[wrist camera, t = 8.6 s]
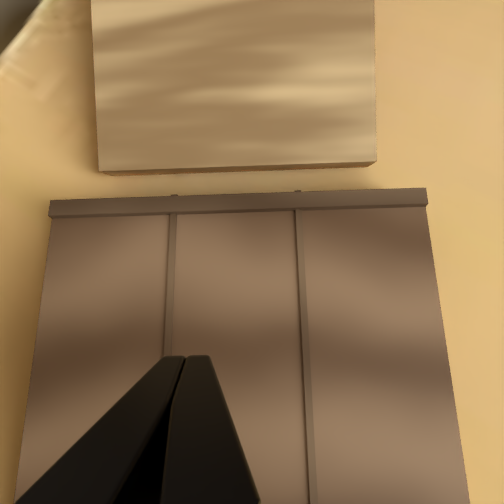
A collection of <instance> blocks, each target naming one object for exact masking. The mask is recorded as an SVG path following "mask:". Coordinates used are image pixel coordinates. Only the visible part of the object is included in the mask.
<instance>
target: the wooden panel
mask: <svg viewBox="0 0 504 504" xmlns="http://www.w3.org/2000/svg"><path fill="white" fill-rule="evenodd" d="M427 204H428V198H427V192H426V188H400V189H370V190H340V191H310V192H301V190H299V191H294V192H281V193H251V194H221V195H191V196H178V195H171V196H161V197H131V198H101V199H71V200H50V206H49V213H48V216H49V217H51V218H52V223H51V231H50V238H49V245H48V253H47V260H46V268H45V275H44V282H43V290H42V297H41V304H40V312H39V319H38V327H37V334H36V341H35V349H34V356H33V364H32V371H31V378H30V386H29V393H28V401H27V408H26V415H25V423H24V430H23V437H22V445H21V452H20V460H19V467H18V474H17V482H16V489H15V497H14V503H15V501H16V500H17V499H18V498H19V497H20V496H21V495H23V494H24V493H25V492H26V491H27V490H28V489H29V488H30V487H31V486H32V485H33V484H34V483H35V482H36V481H37V480H38V479H39V478H40V477H41V476H42V475H43V474H44V473H45V472H46V471H47V470H48V469H49V468H50V467H51V466H52V465H53V464H54V463H55V462H56V461H57V460H58V459H59V458H60V457H61V456H62V455H63V454H64V453H65V452H66V451H67V450H68V449H69V448H70V447H71V446H72V445H73V444H74V443H75V442H76V441H77V440H78V439H79V438H80V437H81V436H82V435H83V434H84V433H86V432H87V431H88V430H89V429H90V428H91V427H92V426H93V425H94V424H95V423H96V422H97V421H98V420H99V419H100V418H101V417H102V416H103V415H104V414H105V413H106V412H107V411H108V410H109V409H110V408H111V407H112V406H113V405H114V404H115V403H116V402H117V401H118V400H119V399H120V398H121V397H122V396H123V395H124V394H125V393H126V392H127V391H128V390H129V389H130V388H131V387H132V386H133V385H134V384H135V383H136V382H137V381H138V380H139V379H140V378H141V377H142V376H143V375H144V374H145V373H146V372H147V371H149V370H150V369H151V368H152V367H153V366H154V365H155V364H156V363H157V362H158V361H159V360H160V359H161V358H162V357H164V356H171V355H184V356H185V357H186V358H187V357H188V356H189V355H209V356H210V357H211V360H212V363H213V366H214V369H215V371H216V374H217V377H218V380H219V383H220V386H221V388H222V391H223V394H224V397H225V400H226V403H227V405H228V408H229V411H230V414H231V417H232V420H233V422H234V425H235V428H236V431H237V434H238V437H239V439H240V442H241V445H242V448H243V451H244V454H245V456H246V459H247V462H248V465H249V468H250V471H251V473H252V476H253V479H254V482H255V485H256V488H257V490H258V493H259V496H260V499H261V504H470V499H469V493H468V486H467V479H466V473H465V466H464V459H463V453H462V446H461V439H460V433H459V426H458V420H457V413H456V406H455V400H454V393H453V386H452V380H451V373H450V366H449V360H448V353H447V346H446V340H445V333H444V326H443V320H442V313H441V307H440V300H439V293H438V287H437V280H436V273H435V267H434V260H433V253H432V247H431V240H430V233H429V227H428V220H427V214H426V206H427Z"/></svg>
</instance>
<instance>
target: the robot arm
mask: <svg viewBox="0 0 504 504" xmlns="http://www.w3.org/2000/svg"><path fill="white" fill-rule="evenodd" d="M14 504H261V499H260V496H259V493H258V490H257V488H256V485H255V482H254V479H253V476H252V473H251V471H250V468H249V465H248V462H247V459H246V456H245V454H244V451H243V448H242V445H241V442H240V439H239V437H238V434H237V431H236V428H235V425H234V422H233V420H232V417H231V414H230V411H229V408H228V405H227V403H226V400H225V397H224V394H223V391H222V388H221V386H220V383H219V380H218V377H217V374H216V371H215V369H214V366H213V363H212V360H211V357H210V356H209V355H189V356H188V357H187V358H186V357H185V356H184V355H171V356H164V357H162V358H161V359H160V360H159V361H158V362H157V363H156V364H155V365H154V366H153V367H152V368H151V369H150V370H149V371H147V372H146V373H145V374H144V375H143V376H142V377H141V378H140V379H139V380H138V381H137V382H136V383H135V384H134V385H133V386H132V387H131V388H130V389H129V390H128V391H127V392H126V393H125V394H124V395H123V396H122V397H121V398H120V399H119V400H118V401H117V402H116V403H115V404H114V405H113V406H112V407H111V408H110V409H109V410H108V411H107V412H106V413H105V414H104V415H103V416H102V417H101V418H100V419H99V420H98V421H97V422H96V423H95V424H94V425H93V426H92V427H91V428H90V429H89V430H88V431H87V432H86V433H84V434H83V435H82V436H81V437H80V438H79V439H78V440H77V441H76V442H75V443H74V444H73V445H72V446H71V447H70V448H69V449H68V450H67V451H66V452H65V453H64V454H63V455H62V456H61V457H60V458H59V459H58V460H57V461H56V462H55V463H54V464H53V465H52V466H51V467H50V468H49V469H48V470H47V471H46V472H45V473H44V474H43V475H42V476H41V477H40V478H39V479H38V480H37V481H36V482H35V483H34V484H33V485H32V486H31V487H30V488H29V489H28V490H27V491H26V492H25V493H24V494H23V495H21V496H20V497H19V498H18V499H17V500H16V501H15V503H14Z"/></svg>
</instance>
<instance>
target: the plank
mask: <svg viewBox="0 0 504 504" xmlns="http://www.w3.org/2000/svg"><path fill="white" fill-rule="evenodd" d="M91 15H92V37H93V58H94V80H95V101H96V123H97V144H98V166H99V171H100V172H103V173H106V174H109V175H111V176H122V175H150V174H178V173H207V172H235V171H263V170H292V169H320V168H349V167H368V166H370V165H372V164H373V163H375V162H376V161H377V139H376V79H375V19H374V0H91Z"/></svg>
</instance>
